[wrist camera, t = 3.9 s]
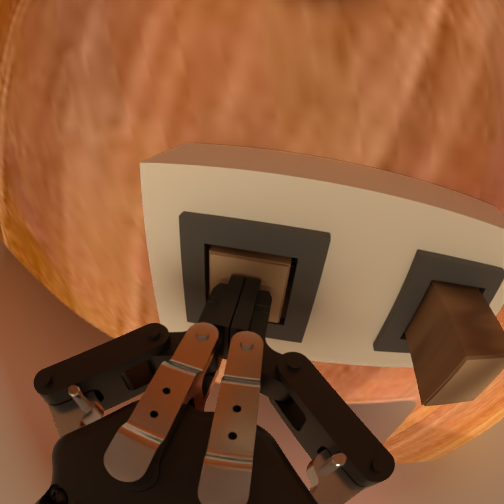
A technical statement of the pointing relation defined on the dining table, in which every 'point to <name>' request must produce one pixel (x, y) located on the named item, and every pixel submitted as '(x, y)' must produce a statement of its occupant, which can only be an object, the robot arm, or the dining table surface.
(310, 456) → the robot arm
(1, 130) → the dining table surface
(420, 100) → the dining table surface
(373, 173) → the socket board
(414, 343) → the peg
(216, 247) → the peg
